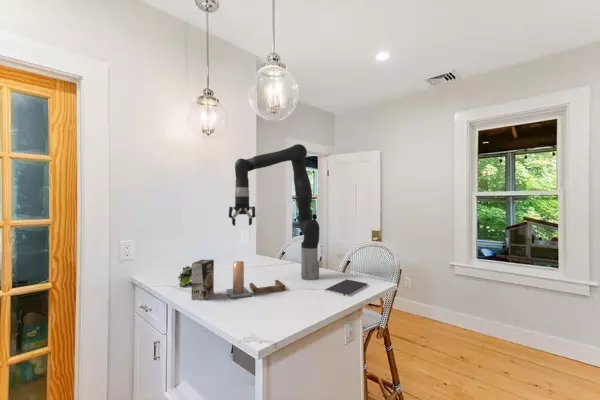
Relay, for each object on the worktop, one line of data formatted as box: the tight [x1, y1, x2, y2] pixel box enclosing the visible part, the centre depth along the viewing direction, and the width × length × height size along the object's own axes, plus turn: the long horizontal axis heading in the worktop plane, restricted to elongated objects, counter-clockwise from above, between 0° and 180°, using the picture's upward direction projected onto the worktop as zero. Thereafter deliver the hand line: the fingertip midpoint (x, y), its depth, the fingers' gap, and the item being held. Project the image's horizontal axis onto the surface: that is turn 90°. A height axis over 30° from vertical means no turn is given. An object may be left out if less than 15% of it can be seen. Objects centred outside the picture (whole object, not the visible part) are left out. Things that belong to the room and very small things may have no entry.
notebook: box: [325, 278, 368, 297], centre depth 144 cm, size 13×2×21 cm
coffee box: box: [191, 259, 215, 301], centre depth 131 cm, size 9×6×16 cm
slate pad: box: [225, 286, 252, 300], centre depth 135 cm, size 9×12×1 cm
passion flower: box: [176, 265, 192, 288], centre depth 150 cm, size 11×11×12 cm
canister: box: [232, 260, 245, 294], centre depth 134 cm, size 5×5×14 cm
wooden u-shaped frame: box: [249, 279, 286, 295], centre depth 142 cm, size 15×10×2 cm
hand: (242, 225), depth 157 cm, fingers open, 8 cm apart
